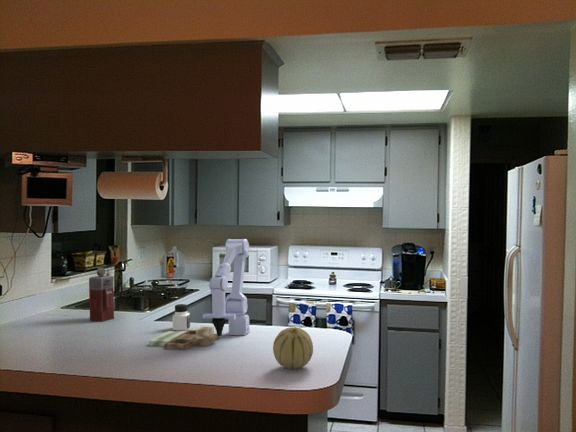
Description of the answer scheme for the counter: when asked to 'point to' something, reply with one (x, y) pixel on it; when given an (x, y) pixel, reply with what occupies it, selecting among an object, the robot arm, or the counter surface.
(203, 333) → the birch block
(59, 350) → the counter surface
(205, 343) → the trap board
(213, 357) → the counter surface
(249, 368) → the counter surface
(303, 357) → the cantaloupe
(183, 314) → the medicine bottle
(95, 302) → the red liquid decanter
